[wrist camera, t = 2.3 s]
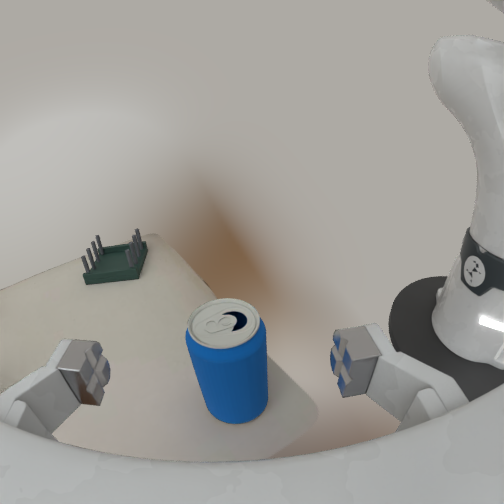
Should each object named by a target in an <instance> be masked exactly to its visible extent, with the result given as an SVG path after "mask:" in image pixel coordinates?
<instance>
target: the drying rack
mask: <svg viewBox="0 0 504 504" xmlns="http://www.w3.org/2000/svg"><path fill="white" fill-rule="evenodd" d="M135 232H136V235H133V236H132V238H133V242H134V243H133V242H129V244H122V245H115V246H109V247H102V244H101V241H100V237H99V235H96V240H97V243H98V246H99V248H98V251H97V248H96V245H95V242H94V241H92V242H91V244H92V247H93V251H94V254H95V257H96V261H95V262H94V260H93V256H92V253H91V251H90V248H88V249H87V250H86V251H87V254H88V257H89V260H90V263H91V265H92V268H91V270H90V269H89V266H88V263H87V261H86V258H85V256H82V257H81V258H82V261H83V264H84V267H85V270H86V273H84V274H83V278H84V280H85V283H86V285H88V284H97V283H106V282H114V281H123V280H132V279H139V276H140V273H141V270H142V266H143V263H144V260H145V257H146V254H147V251H148V249H147V245H146V241H143V242H142V241H141V236H140V233H139V229H135ZM136 236H137V238H136ZM137 240H138V242H137ZM98 252H99V254H98Z"/></svg>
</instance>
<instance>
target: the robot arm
mask: <svg viewBox="0 0 504 504" xmlns="http://www.w3.org/2000/svg"><path fill="white" fill-rule="evenodd" d="M487 1H488V2H489V3H490V4H492V5H493V6H495V7H496V8H497V9H499V10H500V11H501V12H503V13H504V0H487ZM428 70H429V77H430V81H431V84H432V87H433V89H434V91H435V93H436V95H437V97H438V98H439V100H440V101H441V102H442V104H443V105H444V106H445V107H446V108H447V109H448V110H449V111H450V112H451V113H452V114H453V115H454V116H455V118H456V119H457V120H458V121H459V123H460V124H461V126H462V127H463V129H464V130H465V132H466V134H467V136H468V138H469V140H470V143H471V145H472V148H473V151H474V155H475V159H476V166H477V189H476V199H475V206H474V212H473V217H472V222H471V226H470V227H469V228H468V229H467V231H466V234H465V237H464V239H463V242H462V243H463V245H462V248H461V252H460V255H459V256H457V257H456V258H455V261H454V263H453V266H452V268H451V270H450V273H449V275H448V277H447V280H446V282H445V285H444V287H443V288H439V289H438V291H437V293H436V302H437V303H436V306H435V308H434V310H433V313H432V325H433V328H434V331H435V333H436V335H437V336H438V338H439V339H440V340H441V342H442V343H443V344H444V345H445V346H446V347H447V348H448V349H450V350H451V351H452V352H454V353H455V354H457V355H458V356H460V357H462V358H464V359H467V360H470V361H474V362H480V363H487V364H490V365H492V366H494V367H496V368H498V369H501V370H504V42H501V41H497V40H493V39H489V38H484V37H479V36H474V35H466V36H465V35H460V36H446V37H441V38H440V39H439V40H438V41H437V42H436V43H435V44H434V46H433V48H432V50H431V52H430V56H429V62H428ZM333 341H334V343H335V345H334V346H333V348H332V349H331V355H330V361H331V367H332V371H333V374H334V375H336V376H337V377H339V379H338V383H337V384H338V386H339V389H340V392H341V394H342V397H343V398H345V397H350V396H356V395H361V394H366V395H367V396H368V397H369V398H371V399H372V400H373V401H375V402H376V403H377V404H379V405H380V406H381V407H382V408H384V409H385V410H386V411H388V412H389V413H390V414H391V415H393V416H394V417H395V418H397V419H398V420H399V421H401V423H400V425H399V427H398V429H397V430H396V432H395V433H392V434H390V435H386V436H383V437H379V438H376V439H372V440H369V441H365V442H361V443H357V444H354V445H349V446H345V447H341V448H336V449H332V450H326V451H321V452H316V453H311V454H304V455H297V456H291V457H283V458H274V459H264V460H251V461H232V462H186V461H168V460H156V459H146V458H137V457H130V456H123V455H116V454H111V453H105V452H100V451H95V450H90V449H86V448H81V447H77V446H73V445H69V444H65V443H62V442H58V440H57V439H56V438H55V437H54V436H53V435H52V433H53V432H54V431H55V430H56V429H57V428H58V427H59V426H60V425H61V424H62V423H63V422H64V421H65V420H66V419H67V418H68V417H69V416H70V415H71V414H72V413H73V412H74V411H75V410H76V409H77V408H78V407H79V406H80V405H81V404H87V405H96V406H100V404H101V401H102V399H103V396H104V393H105V392H104V390H103V387H104V386H105V385H107V384H108V382H109V379H110V366H109V363H108V360H107V359H106V358H105V357H104V356H103V355H102V354H101V353H102V351H103V349H102V347H101V345H100V343H99V342H97V341H87V340H76V339H75V340H73V339H63V340H61V341H60V343H59V344H58V346H57V348H56V349H55V351H54V352H53V354H52V356H51V357H50V359H49V361H48V362H47V364H46V366H45V367H43V366H42V367H40V368H39V369H37V370H36V371H34V372H33V373H31V374H29V375H28V376H26V377H25V378H23V379H22V380H20V381H19V382H17V383H16V384H14V385H13V386H11V387H10V388H8V389H7V390H5V391H3V392H2V393H1V394H0V504H504V383H503V384H502V385H500V386H498V387H497V388H495V389H493V390H491V391H490V392H488V393H486V394H484V395H482V396H480V397H478V398H476V399H475V400H473V401H471V402H469V400H468V399H467V397H466V396H465V394H464V393H463V392H462V390H461V389H460V387H459V386H458V384H457V383H456V381H455V380H454V378H452V377H450V376H448V375H446V374H444V373H442V372H440V371H438V370H436V369H434V368H432V367H430V366H428V365H426V364H424V363H422V362H420V361H418V360H416V359H414V358H412V357H410V356H408V355H406V354H404V353H402V352H396V351H395V349H394V348H393V346H392V345H391V343H390V342H389V340H388V338H387V337H386V335H385V334H384V332H383V331H382V330H381V328H380V327H379V325H378V324H376V323H373V324H368V325H363V326H358V327H351V328H345V329H338V330H335V332H334V335H333Z"/></svg>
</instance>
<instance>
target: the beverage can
mask: <svg viewBox="0 0 504 504" xmlns="http://www.w3.org/2000/svg"><path fill="white" fill-rule="evenodd" d="M186 344H187V347H188V351H189V354H190V357H191V360H192V363H193V367H194V370H195V373H196V376H197V379H198V382H199V385H200V388H201V391H202V394H203V397H204V400H205V402H206V405H207V408H208V410H209V411H210V413H211V414H212V415H213V416H214V417H216V418H217V419H219V420H220V421H223V422H226V423H231V424H241V423H246V422H249V421H251V420H253V419H255V418H257V417H258V416H259V415H260V414H261V413H262V412H263V411H264V409H265V407H266V405H267V402H268V379H267V347H266V329H265V325H264V323H263V321H262V320H261V318H260V317H259V313H258V312H257V310H256V309H255V308H254V307H253V306H252V305H251V304H249V303H247V302H245V301H242V300H238V299H229V298H225V299H217V300H213V301H210V302H207V303H205V304H203V305H201V306H200V307H198V308H197V309H196V310H195V311H194V312H193V313H192V314H191V315H190V317H189V320H188V327H187V331H186Z"/></svg>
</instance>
